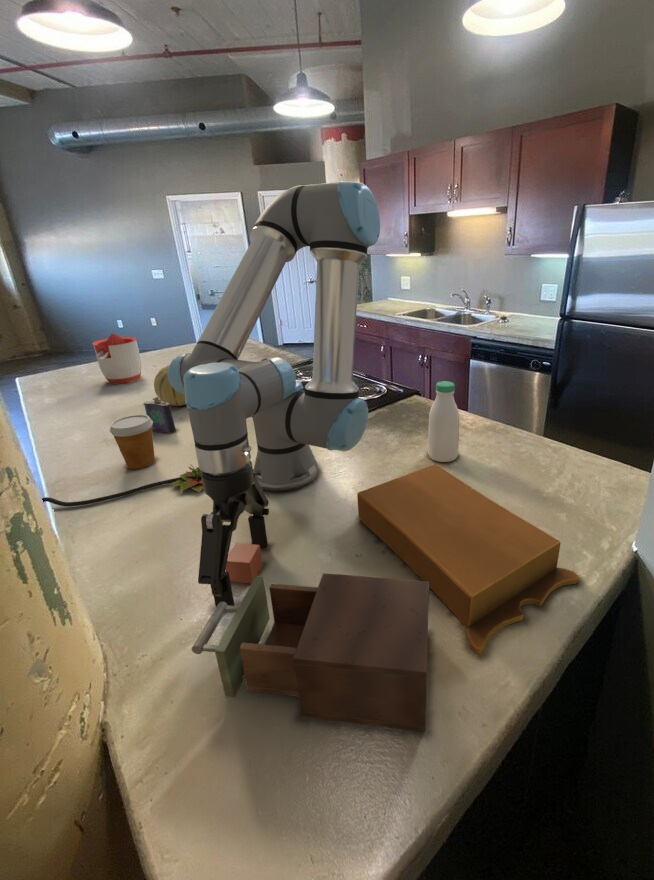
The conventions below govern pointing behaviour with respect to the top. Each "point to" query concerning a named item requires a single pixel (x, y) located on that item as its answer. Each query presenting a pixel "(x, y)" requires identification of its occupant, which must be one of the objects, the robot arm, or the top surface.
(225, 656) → the drawer
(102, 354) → the citrus juicer
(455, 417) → the milk bottle
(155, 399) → the flask
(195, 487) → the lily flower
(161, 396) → the cantaloupe
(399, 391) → the top surface
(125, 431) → the disposable coffee cup
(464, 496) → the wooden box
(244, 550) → the block
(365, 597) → the cabinet
